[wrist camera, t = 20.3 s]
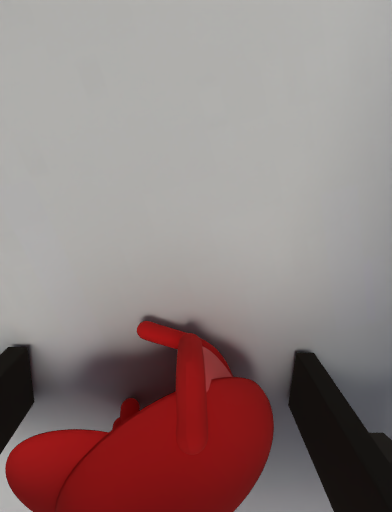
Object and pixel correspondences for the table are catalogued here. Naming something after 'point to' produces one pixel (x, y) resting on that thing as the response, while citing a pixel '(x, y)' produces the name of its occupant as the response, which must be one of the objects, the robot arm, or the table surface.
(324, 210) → the table surface
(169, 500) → the cap
